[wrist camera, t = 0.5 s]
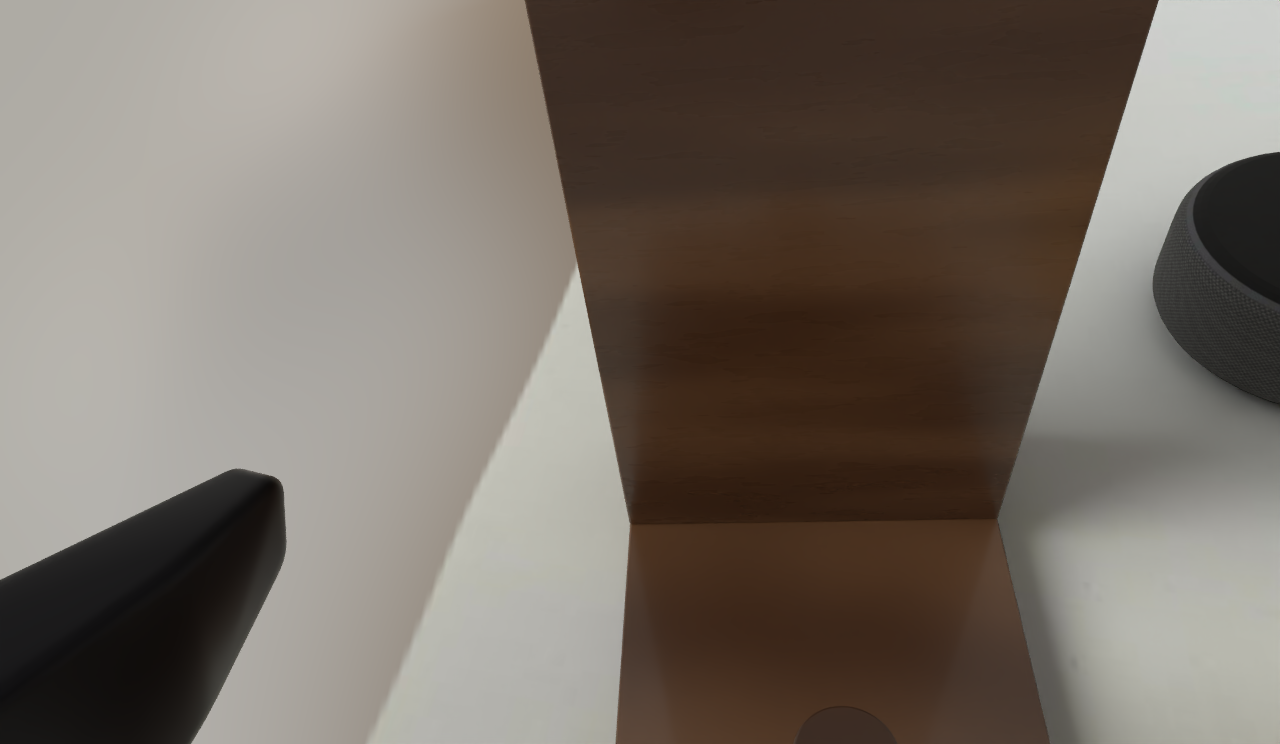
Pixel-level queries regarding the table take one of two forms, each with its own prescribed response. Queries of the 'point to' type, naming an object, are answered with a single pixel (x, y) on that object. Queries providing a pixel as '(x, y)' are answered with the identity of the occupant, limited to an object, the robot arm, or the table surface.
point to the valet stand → (827, 339)
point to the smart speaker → (1227, 275)
